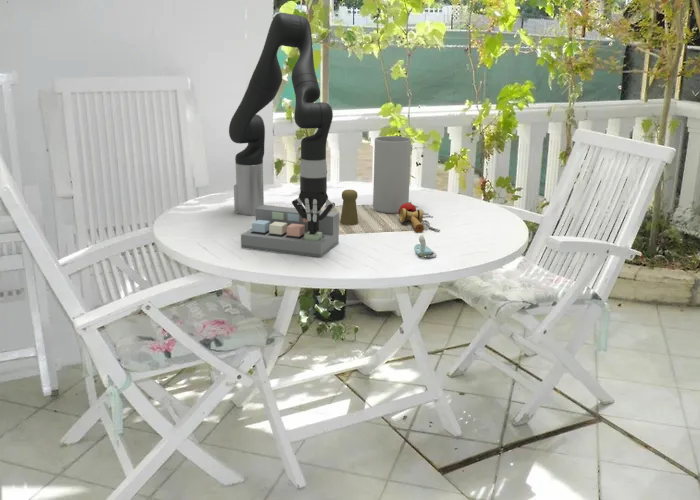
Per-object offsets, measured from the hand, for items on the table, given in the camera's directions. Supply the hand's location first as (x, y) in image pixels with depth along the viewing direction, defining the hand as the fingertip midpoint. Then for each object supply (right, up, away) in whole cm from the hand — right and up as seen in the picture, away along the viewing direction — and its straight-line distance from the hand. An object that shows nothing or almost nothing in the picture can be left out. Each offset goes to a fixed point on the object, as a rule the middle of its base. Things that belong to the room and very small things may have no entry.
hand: (313, 233), depth 218 cm
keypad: (-7, -4, +6) cm, 10 cm away
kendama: (+31, +3, +30) cm, 44 cm away
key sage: (0, -4, +1) cm, 4 cm away
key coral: (-5, -1, +2) cm, 6 cm away
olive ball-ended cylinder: (+10, +4, +32) cm, 33 cm away
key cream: (-10, -1, +4) cm, 11 cm away
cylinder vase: (+25, +9, +49) cm, 56 cm away
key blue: (-16, 0, +6) cm, 17 cm away
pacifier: (+32, -7, 0) cm, 33 cm away
